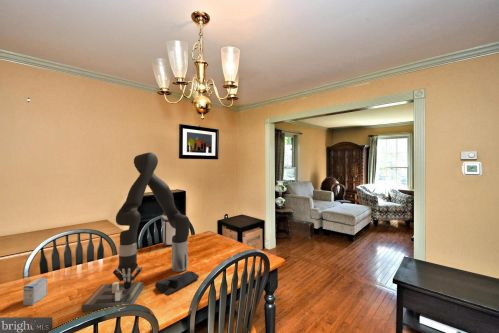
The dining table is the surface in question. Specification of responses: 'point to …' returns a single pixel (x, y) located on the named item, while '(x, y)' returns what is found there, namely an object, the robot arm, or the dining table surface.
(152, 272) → the dining table surface
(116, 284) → the handle
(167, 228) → the coffee press
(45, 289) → the medicine box
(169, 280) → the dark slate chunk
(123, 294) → the breaker panel
